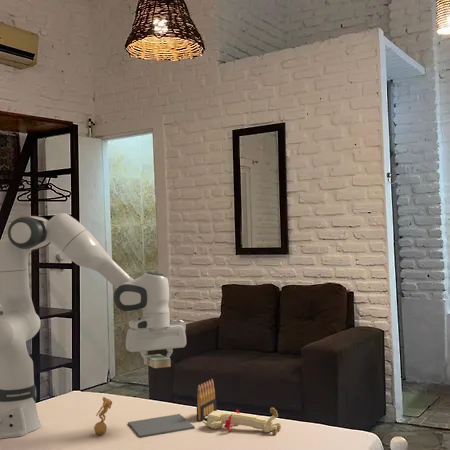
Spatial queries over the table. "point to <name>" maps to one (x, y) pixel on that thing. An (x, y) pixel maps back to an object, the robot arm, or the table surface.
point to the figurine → (101, 426)
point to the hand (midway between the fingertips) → (156, 363)
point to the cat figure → (242, 421)
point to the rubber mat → (160, 425)
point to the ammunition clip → (206, 400)
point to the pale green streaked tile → (159, 361)
